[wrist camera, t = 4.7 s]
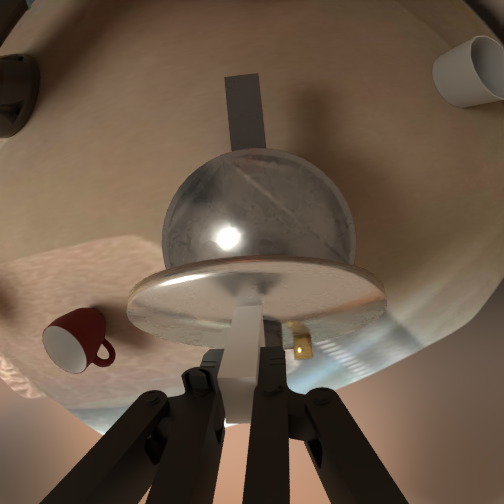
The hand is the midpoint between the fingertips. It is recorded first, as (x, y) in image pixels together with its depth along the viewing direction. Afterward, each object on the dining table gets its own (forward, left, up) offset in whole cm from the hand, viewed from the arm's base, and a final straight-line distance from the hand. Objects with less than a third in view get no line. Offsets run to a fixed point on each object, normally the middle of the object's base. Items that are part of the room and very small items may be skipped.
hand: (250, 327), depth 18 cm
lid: (+2, 0, -6) cm, 6 cm away
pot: (-4, 0, -23) cm, 23 cm away
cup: (-21, +30, -23) cm, 43 cm away
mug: (+12, -27, -23) cm, 37 cm away
